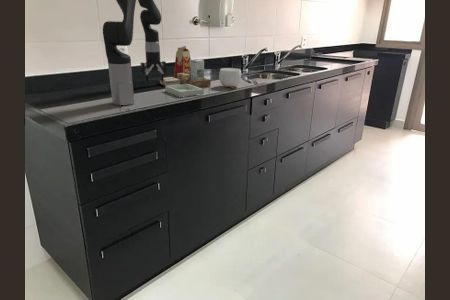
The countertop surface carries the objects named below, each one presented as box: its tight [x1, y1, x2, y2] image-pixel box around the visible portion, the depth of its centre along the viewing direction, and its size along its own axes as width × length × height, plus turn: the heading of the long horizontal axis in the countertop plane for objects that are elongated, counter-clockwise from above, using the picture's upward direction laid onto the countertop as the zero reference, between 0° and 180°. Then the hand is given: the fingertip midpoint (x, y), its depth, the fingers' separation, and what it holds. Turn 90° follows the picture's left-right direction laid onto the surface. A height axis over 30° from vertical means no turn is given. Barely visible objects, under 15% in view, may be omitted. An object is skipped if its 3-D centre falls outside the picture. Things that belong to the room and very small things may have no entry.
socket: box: [183, 77, 211, 89], centre depth 177 cm, size 11×11×4 cm
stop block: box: [177, 73, 190, 84], centre depth 184 cm, size 8×4×5 cm, turn 37°
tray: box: [164, 83, 205, 98], centre depth 160 cm, size 16×13×3 cm
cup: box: [218, 67, 242, 88], centre depth 176 cm, size 12×12×10 cm
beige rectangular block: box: [159, 76, 181, 87], centre depth 179 cm, size 10×8×4 cm
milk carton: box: [174, 45, 192, 79], centre depth 192 cm, size 9×9×20 cm
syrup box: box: [190, 58, 205, 81], centre depth 175 cm, size 6×6×14 cm
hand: (154, 81), depth 174 cm, fingers open, 8 cm apart
